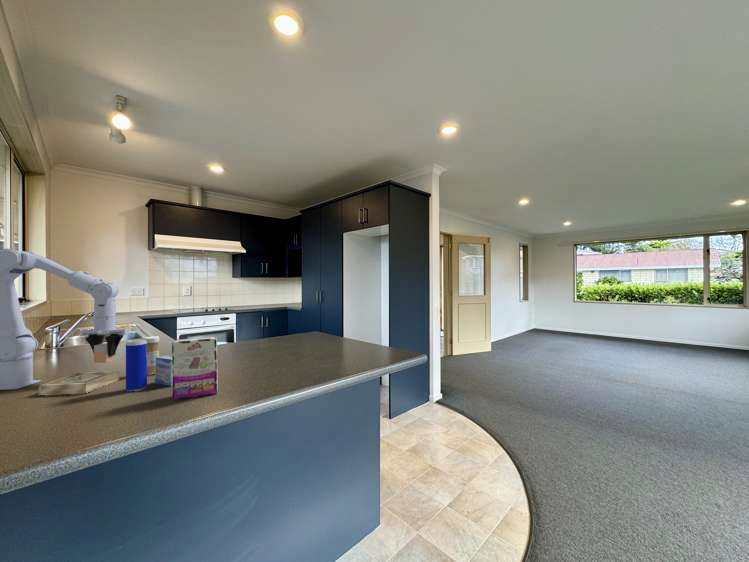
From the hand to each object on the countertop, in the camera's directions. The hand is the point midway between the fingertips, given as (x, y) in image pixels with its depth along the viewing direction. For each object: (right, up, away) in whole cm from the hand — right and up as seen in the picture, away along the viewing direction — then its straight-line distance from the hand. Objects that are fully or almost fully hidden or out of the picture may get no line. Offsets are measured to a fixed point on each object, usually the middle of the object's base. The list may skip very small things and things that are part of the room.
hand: (104, 355), depth 106 cm
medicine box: (+28, -8, -7) cm, 30 cm away
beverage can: (+21, -7, -13) cm, 26 cm away
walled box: (+2, -7, -10) cm, 13 cm away
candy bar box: (+43, -7, -18) cm, 47 cm away
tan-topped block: (0, -2, 0) cm, 2 cm away
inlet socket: (+2, -7, -10) cm, 13 cm away
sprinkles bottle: (+14, -8, +4) cm, 16 cm away
